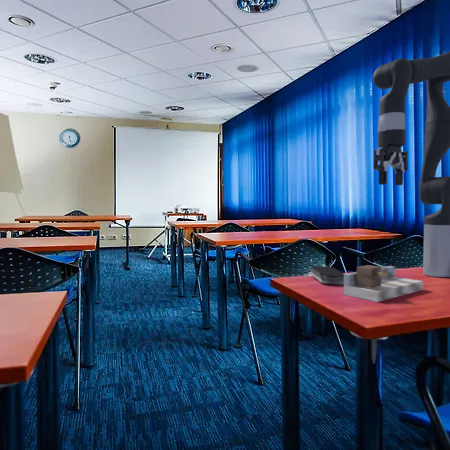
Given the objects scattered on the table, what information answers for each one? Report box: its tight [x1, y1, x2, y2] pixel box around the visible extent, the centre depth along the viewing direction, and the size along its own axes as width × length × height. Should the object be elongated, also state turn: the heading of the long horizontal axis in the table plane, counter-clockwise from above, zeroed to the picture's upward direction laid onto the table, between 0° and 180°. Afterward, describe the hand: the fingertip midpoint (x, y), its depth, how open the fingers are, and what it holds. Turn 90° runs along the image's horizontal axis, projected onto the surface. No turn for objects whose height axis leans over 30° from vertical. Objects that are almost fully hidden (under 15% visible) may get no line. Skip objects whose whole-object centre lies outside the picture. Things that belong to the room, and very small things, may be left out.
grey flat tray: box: [343, 265, 424, 303], centre depth 101 cm, size 22×10×6 cm, turn 125°
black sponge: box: [309, 265, 345, 286], centre depth 119 cm, size 16×8×4 cm, turn 0°
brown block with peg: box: [356, 264, 389, 288], centre depth 97 cm, size 5×8×5 cm, turn 35°
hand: (390, 184), depth 110 cm, fingers open, 8 cm apart
